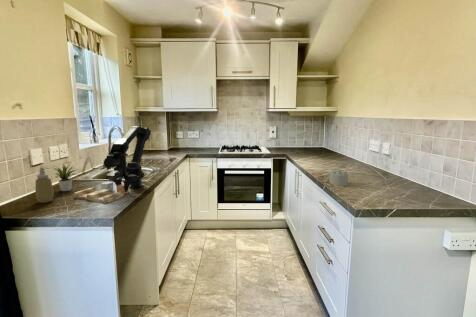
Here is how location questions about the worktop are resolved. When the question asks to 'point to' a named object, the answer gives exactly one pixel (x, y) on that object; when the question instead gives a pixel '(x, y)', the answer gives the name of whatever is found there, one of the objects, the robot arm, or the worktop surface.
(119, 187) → the terracotta block
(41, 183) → the squeeze bottle
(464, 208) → the worktop surface
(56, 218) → the worktop surface
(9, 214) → the worktop surface
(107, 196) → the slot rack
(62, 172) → the house plant
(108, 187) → the blue-grey block
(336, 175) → the lumpy-topped squat cylinder
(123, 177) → the robot arm
